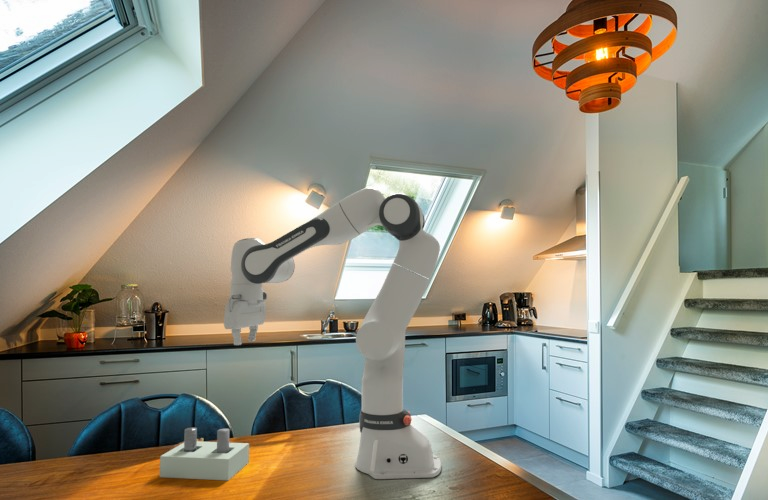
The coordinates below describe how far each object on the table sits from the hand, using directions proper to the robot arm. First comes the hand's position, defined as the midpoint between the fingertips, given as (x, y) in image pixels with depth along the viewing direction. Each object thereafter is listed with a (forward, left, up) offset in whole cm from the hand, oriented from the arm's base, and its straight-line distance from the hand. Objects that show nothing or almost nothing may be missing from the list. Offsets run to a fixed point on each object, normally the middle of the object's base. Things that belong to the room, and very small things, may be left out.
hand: (244, 343), depth 133 cm
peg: (+9, +11, -31) cm, 34 cm away
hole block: (+5, +11, -31) cm, 33 cm away
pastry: (+16, -1, -32) cm, 36 cm away
